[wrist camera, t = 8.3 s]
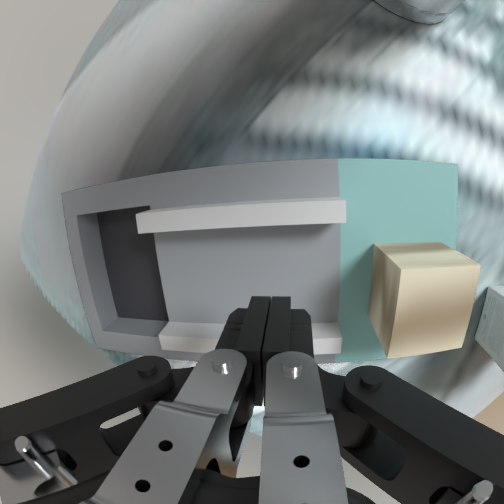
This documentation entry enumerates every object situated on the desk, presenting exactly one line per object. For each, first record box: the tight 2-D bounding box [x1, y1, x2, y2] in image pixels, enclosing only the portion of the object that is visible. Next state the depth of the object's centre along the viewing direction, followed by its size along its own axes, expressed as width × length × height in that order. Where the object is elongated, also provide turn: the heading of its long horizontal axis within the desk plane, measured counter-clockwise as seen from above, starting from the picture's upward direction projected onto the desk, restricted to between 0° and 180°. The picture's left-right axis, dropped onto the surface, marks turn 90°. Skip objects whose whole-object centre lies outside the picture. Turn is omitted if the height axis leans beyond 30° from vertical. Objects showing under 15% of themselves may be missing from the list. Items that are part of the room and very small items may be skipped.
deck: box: [62, 159, 458, 364], centre depth 19 cm, size 14×29×5 cm, turn 94°
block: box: [368, 242, 481, 359], centre depth 14 cm, size 5×5×5 cm
